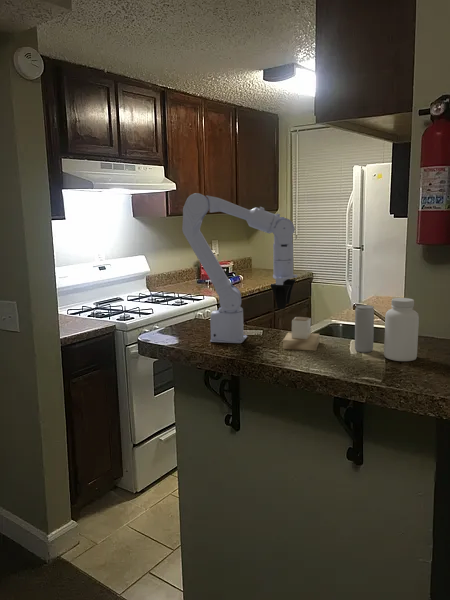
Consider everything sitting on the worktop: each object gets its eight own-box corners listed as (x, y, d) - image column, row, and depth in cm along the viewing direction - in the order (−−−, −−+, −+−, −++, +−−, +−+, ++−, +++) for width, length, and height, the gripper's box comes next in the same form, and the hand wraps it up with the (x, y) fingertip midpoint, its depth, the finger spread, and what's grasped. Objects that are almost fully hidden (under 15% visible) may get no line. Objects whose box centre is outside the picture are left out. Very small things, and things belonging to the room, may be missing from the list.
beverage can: (369, 354, 132) (370, 308, 130) (351, 351, 135) (352, 307, 133) (375, 349, 136) (377, 305, 134) (358, 347, 139) (359, 304, 137)
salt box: (291, 337, 141) (291, 319, 140) (295, 334, 145) (295, 316, 144) (307, 339, 139) (307, 320, 138) (310, 335, 143) (310, 317, 142)
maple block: (283, 350, 140) (282, 340, 139) (288, 342, 148) (288, 332, 148) (316, 352, 137) (316, 341, 137) (319, 343, 146) (319, 333, 145)
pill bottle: (423, 360, 125) (426, 301, 123) (393, 363, 124) (395, 302, 122) (407, 352, 133) (409, 295, 131) (378, 354, 132) (379, 297, 129)
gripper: (293, 262, 139) (293, 311, 141) (300, 257, 152) (300, 301, 155) (268, 262, 140) (268, 310, 143) (277, 257, 154) (277, 301, 156)
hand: (283, 306), depth 149 cm, fingers open, 7 cm apart
